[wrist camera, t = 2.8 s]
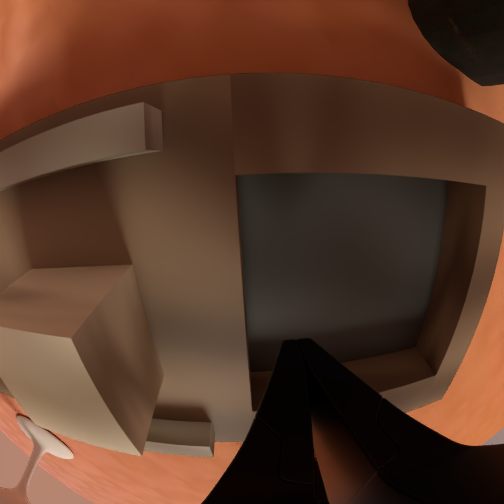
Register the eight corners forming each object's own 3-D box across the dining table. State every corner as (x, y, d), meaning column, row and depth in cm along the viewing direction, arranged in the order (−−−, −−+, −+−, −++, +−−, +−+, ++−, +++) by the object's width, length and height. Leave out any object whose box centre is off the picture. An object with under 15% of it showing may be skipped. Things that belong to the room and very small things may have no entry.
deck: (422, 370, 15) (451, 414, 11) (6, 366, 14) (-17, 397, 10) (468, 124, 9) (531, 127, 5) (-53, 188, 9) (-92, 202, 5)
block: (164, 376, 10) (141, 456, 6) (70, 365, 10) (35, 424, 6) (132, 264, 8) (71, 338, 4) (31, 268, 8) (-31, 318, 4)
